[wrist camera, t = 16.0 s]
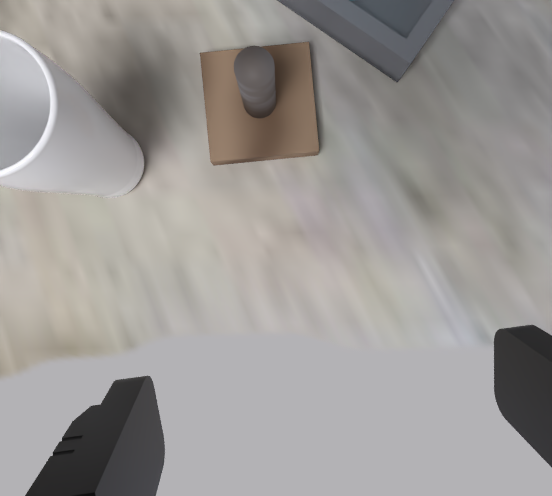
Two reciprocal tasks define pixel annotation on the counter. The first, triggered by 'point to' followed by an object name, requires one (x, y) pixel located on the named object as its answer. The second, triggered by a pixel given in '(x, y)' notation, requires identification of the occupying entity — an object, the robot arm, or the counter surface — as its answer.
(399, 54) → the charcoal tray
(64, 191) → the drinking glass
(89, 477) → the robot arm
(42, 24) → the counter surface
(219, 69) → the square wooden base
